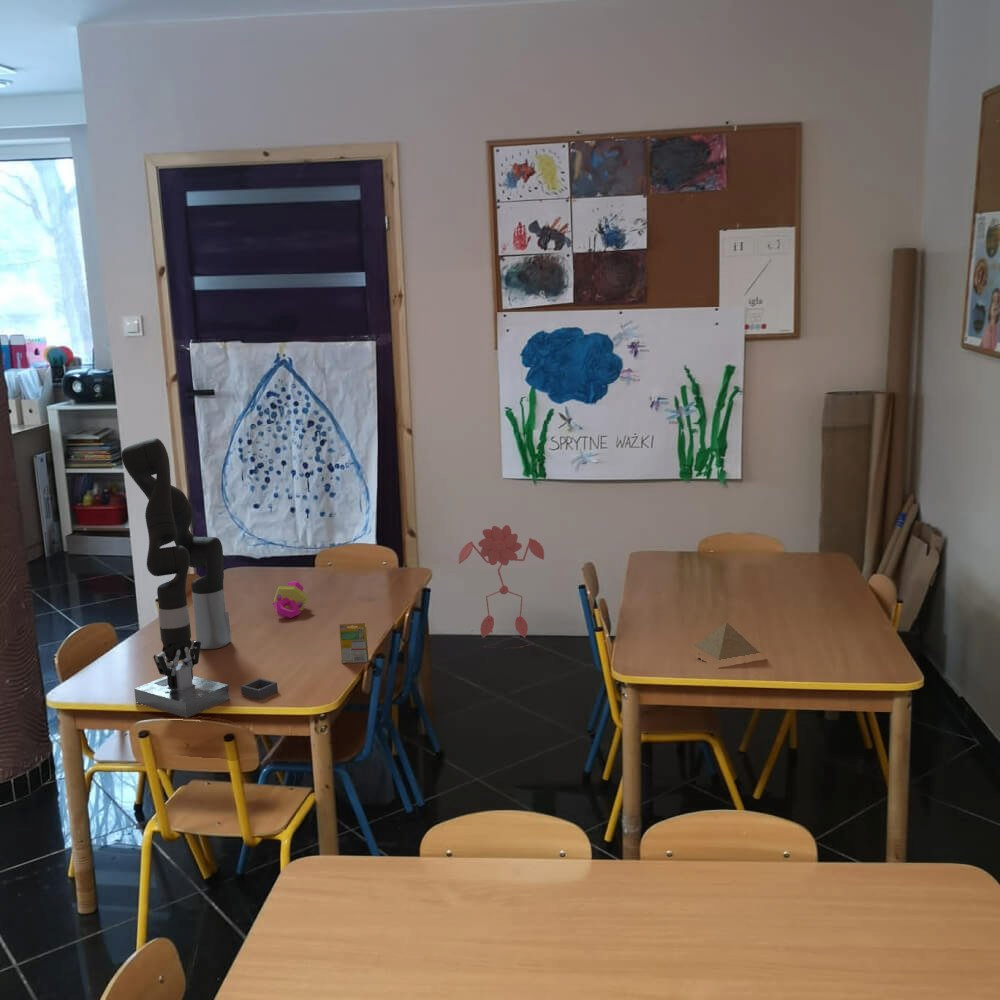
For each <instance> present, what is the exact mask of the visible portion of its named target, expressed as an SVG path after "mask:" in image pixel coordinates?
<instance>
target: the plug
mask: <svg viewBox="0 0 1000 1000" xmlns="http://www.w3.org/2000/svg"><path fill="white" fill-rule="evenodd" d="M170 671H171V670H170ZM175 675H176V681H177V688H176V689H171V688H170V690H174V691H178V692H181V691H184V690H186V689H188V688H191V687H193V683H192V673H191V666H189V665H185V664H183V663H182V662H181V663H178V666H177V667H176V672H175Z"/></svg>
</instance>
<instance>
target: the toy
mask: <svg viewBox="0 0 1000 1000" xmlns="http://www.w3.org/2000/svg"><path fill="white" fill-rule="evenodd" d="M303 590H304V587H303V585H302V584H301V583H300V582H299V581H298V580H296V581H289V582H288V583H287V585H282V586H281V585H278V587H277V589H276V592H275V596H274V598H273V601H274V602H273V603H272V605H273V607H274V609H275V611H276V613H277V616H280V617H283V618H286V619H288V620H289V619H292V618H294V617H296V616H299V615H300V614H301V612H302V611H304V609H305V605H306V604H307V601H308V598H309V596H308V595H307V594H306V593H305V592H304V591H303Z"/></svg>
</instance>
